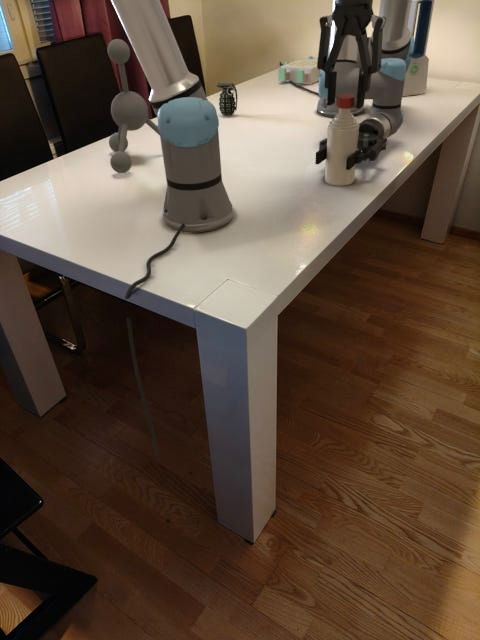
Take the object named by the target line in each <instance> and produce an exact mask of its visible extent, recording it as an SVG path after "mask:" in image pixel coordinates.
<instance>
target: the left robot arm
mask: <svg viewBox="0 0 480 640" xmlns="http://www.w3.org/2000/svg"><path fill="white" fill-rule="evenodd" d="M110 1H111V4H112V5H113V8H114V10H115V12H116V14H117V16H118V19H119V21H120V23H121V26H122V27H123V30H124V31H125V34H126V36H127V38H128V41H129V42H130V45H131V47H132V49H133V51H134V53H135V56H136V58H137V60H138V62H139V65H140V66H141V69H142V71H143V73H144V76H145V77H146V80H147V82H148V84H149V86H150V88H151V91H150V94H149V98H148V100H149V103H150V105H151V107H152V109H153V112H154V114H155V116H156V118H157V123H156V125H157V126H158V131H159V133H160V135H159V139H160V145H161V153H162V159H163V165H164V166H163V168H164V173H165V180H166V190H165V191H166V192H165V196H164V203H163V207H162V218H163V222H164V224H165V226H167V227H168V228H169V229H171V230H173V231H176V233H175V234H174V235H173V237H172V239H171V241H170V243H169V244H168V245H167V247H165V248H164V249H162V250H160V251H159V252H156V253H154V254H153V255H151V256H150V257H149V258H148V259H147V261H146V265H145V266H146V273H145V275H144V276H143V277H142V278H140V279H138V280H135V281H134V282H133V283H131V285H130V286H129V287H128V289H127V291H126V293H125V296H124V297H125V298H124V299H125V300H128V299H130V297H131V295H132V292H133V291H134V289H135V288H136V287H137V286H139V285H141V284H143V283H145V282H146V281H147V280H149V279H150V277H151V275H152V267H151V263H152V262H153V261H154V260H155V259H156V258H159V257H160V256H161V257H162V255H164V254H166V253H167V252H169V251H170V250H171V249H172V247H174V245H175V243H176V241H177V239H178V237H180V235H181V233H190V234H191V233H192V234H193V233H194V234H195V233H196V234H197V233H205V232H206V233H207V232H210V231H215V230H216V229H220V228H222V227H224V226H226V225H227V224H228V223H230V221H231V220H232V218H233V216H234V212H233V211H234V210H233V204H232V201H231V200H230V197H229V195H228V192H227V190H226V187H225V184H224V182H223V175H222V174H223V173H222V164H221V163H222V161H221V147H220V134H219V127H220V119H219V116H218V113H217V109H216V106H215V105H214V104H213V103H212V102H211V101H209V100H208V97H207V95H206V93H205V90H204V87H203V86H202V82H201V80H200V78H199V76H198V75H196V74H194V73H192V72H190V71H189V70H188V67H187V65H186V62H185V59H184V57H183V54H182V51H181V50H180V46H179V45H178V42H177V40H176V37H175V35H174V32H173V30H172V28H171V25H170V23H169V20H168V17H167V15H166V13H165V10H164V8H163V6H162V5H163V4H162V3H161V0H110ZM373 3H374V0H335V8H334V11H333V13H332V15H331V14H330V15H323V16H321V17H320V18H319V27H320V37H319V44H318V53H317V58H318V62H317V68H318V69H321V70H323V71H324V72H325V85H324V86H325V88H327V89H328V97H327V105H329V106H330V105H332V104H334V103H335V94H336V79H337V72H336V71H334V72H333V70H334V69H335V68H334V67H335V64H336V61H337V58H338V55H339V53H340V50H341V47H342V44H343V41H344V39H345V37H346V36H347V35H351V36H355V39H356V41H357V44H358V50H359V55H360V61H361V66H362V71H363V74H362V75H360V76H359V83H358V94H357V104H356V108H357V109H360V108H361V107H364V106H365V100H366V99H365V92H367V91H369V89H370V82H371V75H372V74H373V73H376V72H378V71H379V70H380V69H381V58H382V37H383V28H384V25H385V23H386V17H379V15H376V14H374V10H373ZM333 21H334V23H335V25H336V27H337V31H336V34H335V37H334V38H335V39H334V42H333V45H332V48H331V51H330V54H329V57H328V49H329V41H330V32H331V26H332V22H333ZM370 23H371V27H372V29H373V30H372V32H373V43H372V65H371V59H370V53H369V48H368V42H367V37H368V31H367V28H368V26H369V24H370ZM327 57H328V60H327ZM125 318H126V327H127V335H128V341H129V347H130V353H131V359H132V365H133V367H134V368H133V369H134V374H135V377H136V382H137V386H138V390H139V393H140V399H141V400H142V401H141V402H142V405H143V409H144V413H145V418H146V420H147V424H148V427H149V432H150V436H151V439H152V444H153V447H154V452H155V456H156V457H157V458H158V457H160V455H161V454H160V451H159V447H158V442H157V437H156V434H155V430H154V426H153V422H152V418H151V415H150V410H149V406H148V403H147V400H146V396H145V391H144V387H143V383H142V378H141V375H140V370H139V369H140V368H139V365H138V361H137V354H136V349H135V343H134V342H135V341H134V335H133V327H132V318H130V317H129V316H128V317H127V316H126V317H125Z"/></svg>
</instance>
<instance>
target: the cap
mask: <svg viewBox="0 0 480 640" xmlns="http://www.w3.org/2000/svg"><path fill="white" fill-rule="evenodd" d="M354 103H355V96H354V95H351V94H342V95H338V96H337V103H336V107H338V108H341V109H349V108H353V107H354Z"/></svg>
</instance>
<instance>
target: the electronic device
mask: <svg viewBox="0 0 480 640" xmlns="http://www.w3.org/2000/svg"><path fill="white" fill-rule="evenodd" d="M434 5H435V0H412V4H411V9H410V15H409V20H408V26H407V27H408V29H409V30H410V33H411V36H413V37H414V50H413V54H412V59H411V63H410V66H409V68H408V71H407V73H406V74H405V82H404V88H403V95H402V97H408V96H416V95H423V94H424V93H425V92H426V90H427V86H428V85H427V84H428V75H429V74H428V72H429V62H430V59H429V58H428V56H427V49H428V48H427V46H428V43H429V36H430V29H431V24H432V16H433V12H434ZM415 29H416V30H415Z"/></svg>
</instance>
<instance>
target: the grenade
mask: <svg viewBox="0 0 480 640" xmlns="http://www.w3.org/2000/svg"><path fill="white" fill-rule="evenodd" d="M215 87H217V88H219V89H221V93H219V97H218V101H219V102H218V106H219V108H218V109H219V112H220V114H221V115H222V116H224V117H231V116H233V115H234V113H235V112H236V111H237V108H238V89H237V87H236V85H235V84H234V83H233V82H218V83H217V84H216V86H215ZM232 91H233V92H232ZM234 94H235V96H234Z"/></svg>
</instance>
